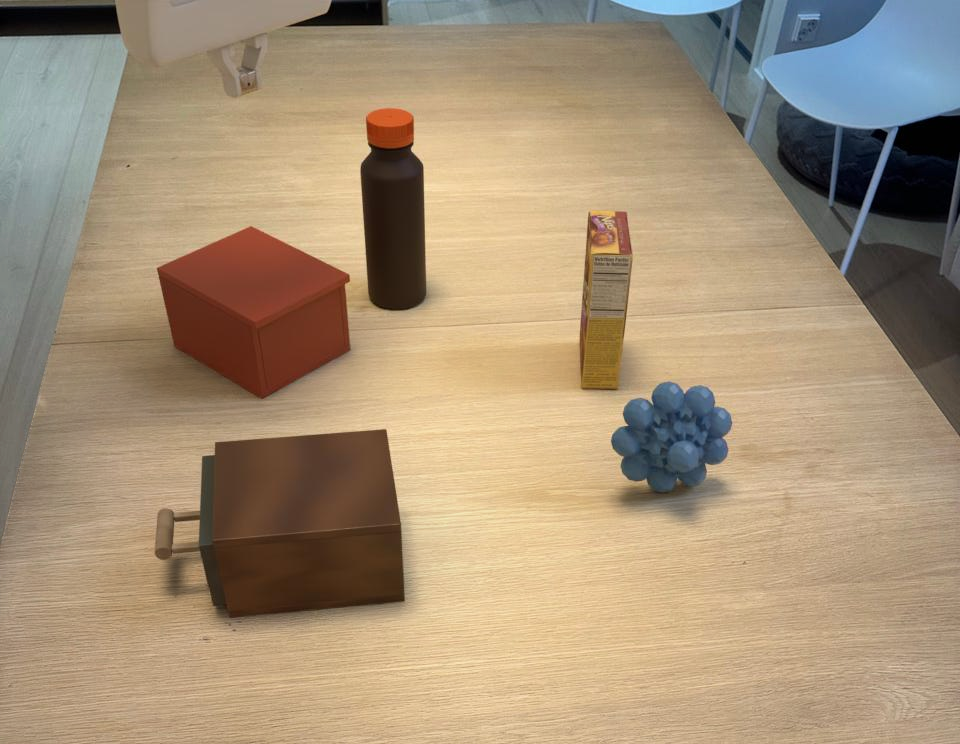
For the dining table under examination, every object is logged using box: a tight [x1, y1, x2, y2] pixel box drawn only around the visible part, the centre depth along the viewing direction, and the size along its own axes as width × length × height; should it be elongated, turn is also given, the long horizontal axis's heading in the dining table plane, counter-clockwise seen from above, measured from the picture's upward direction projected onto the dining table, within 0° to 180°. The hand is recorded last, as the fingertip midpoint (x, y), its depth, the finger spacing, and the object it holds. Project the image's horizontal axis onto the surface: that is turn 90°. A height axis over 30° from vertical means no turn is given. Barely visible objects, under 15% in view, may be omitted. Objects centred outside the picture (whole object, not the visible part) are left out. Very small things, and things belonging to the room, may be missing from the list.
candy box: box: [578, 210, 634, 390], centre depth 108 cm, size 9×4×15 cm, turn 178°
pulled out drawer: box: [154, 454, 227, 607], centre depth 89 cm, size 18×11×7 cm, turn 99°
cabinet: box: [212, 428, 406, 618], centre depth 89 cm, size 15×13×9 cm
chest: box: [158, 275, 351, 399], centre depth 112 cm, size 15×13×8 cm
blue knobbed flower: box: [610, 381, 733, 494], centre depth 95 cm, size 12×7×12 cm, turn 103°
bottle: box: [359, 107, 427, 310], centre depth 116 cm, size 7×7×20 cm
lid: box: [156, 225, 351, 329], centre depth 109 cm, size 15×13×1 cm
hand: (243, 92), depth 94 cm, fingers closed
